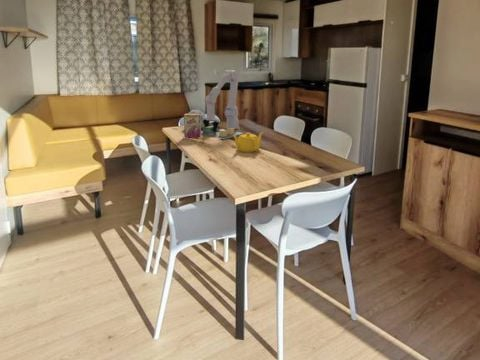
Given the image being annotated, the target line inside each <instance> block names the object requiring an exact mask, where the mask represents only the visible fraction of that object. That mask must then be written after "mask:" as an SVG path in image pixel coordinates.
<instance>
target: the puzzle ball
mask: <svg viewBox="0 0 480 360" xmlns="http://www.w3.org/2000/svg"><path fill="white" fill-rule="evenodd" d="M187 114H201V129H203V128H204V127H205V125H204V123H203V121H204V120H203V117H206V115H205V113H204V112H203V111H201V110H200V109H192V110H190V111H189V112H188V113H187Z"/></svg>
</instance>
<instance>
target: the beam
mask: <svg viewBox="0 0 480 360" xmlns="http://www.w3.org/2000/svg"><path fill="white" fill-rule="evenodd" d="M219 129H220V125H219V124H218V127H217V130H216V132H217V131H219ZM202 132H203V133H204V134H209V133H213V132H214V130H213V125H209V126H208V127H205V126H203V127H202Z"/></svg>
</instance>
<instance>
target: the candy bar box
mask: <svg viewBox="0 0 480 360" xmlns="http://www.w3.org/2000/svg"><path fill="white" fill-rule="evenodd" d="M183 128H184V130H183V132H184V139H191V138H201V137H202V135H201V132H202V128H201V114H188V113H184V114H183Z"/></svg>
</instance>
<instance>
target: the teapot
mask: <svg viewBox="0 0 480 360" xmlns="http://www.w3.org/2000/svg"><path fill="white" fill-rule="evenodd" d="M263 134H264V132H260V133H259V134H258V136H257V134H253V133H251V132H245V133H244V135H240V136H237V137H236V136H233V138H234V144H235V147H236V149H237V150H238V151H239V152H241V153H254V151H255V152H258V151H259V150H260V147H261V146H260V144H261V142H262V135H263Z"/></svg>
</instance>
